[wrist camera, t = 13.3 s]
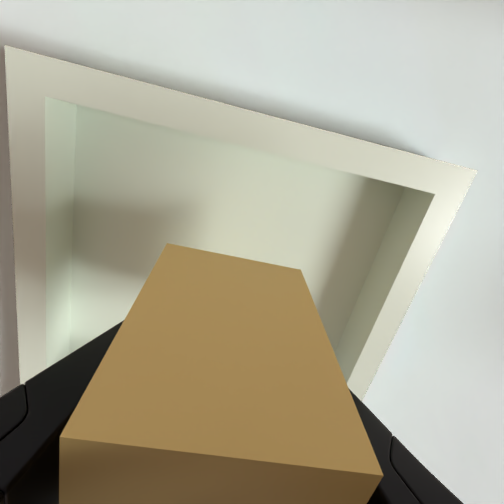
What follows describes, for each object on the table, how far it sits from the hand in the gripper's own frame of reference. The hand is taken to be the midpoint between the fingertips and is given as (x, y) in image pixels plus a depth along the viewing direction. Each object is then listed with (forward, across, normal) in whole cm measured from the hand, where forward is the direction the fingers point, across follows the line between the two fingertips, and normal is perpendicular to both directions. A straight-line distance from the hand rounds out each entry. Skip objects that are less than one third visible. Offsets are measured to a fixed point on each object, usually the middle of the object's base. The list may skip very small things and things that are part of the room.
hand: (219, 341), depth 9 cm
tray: (+5, 0, +4) cm, 7 cm away
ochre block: (+1, 0, 0) cm, 1 cm away
